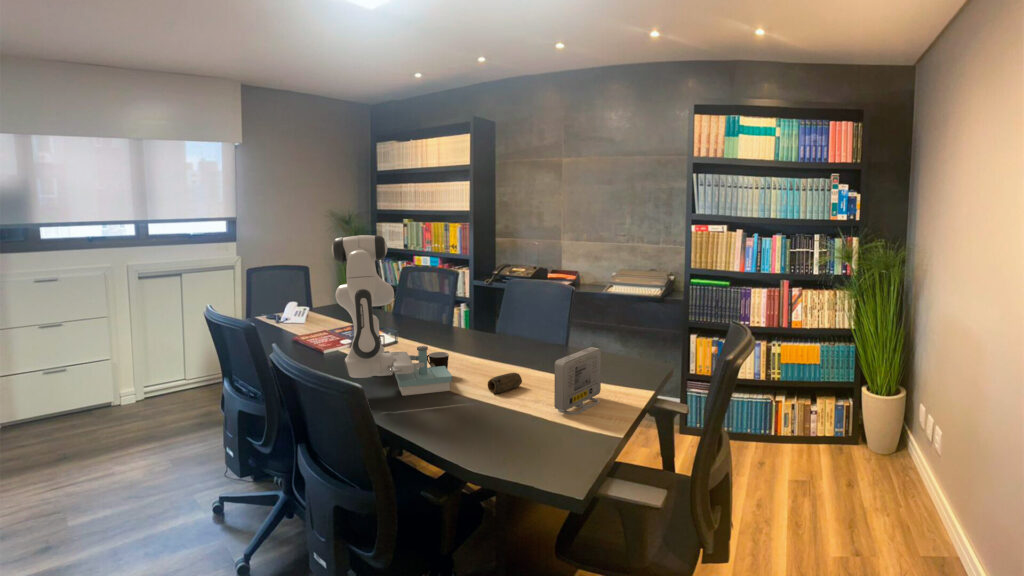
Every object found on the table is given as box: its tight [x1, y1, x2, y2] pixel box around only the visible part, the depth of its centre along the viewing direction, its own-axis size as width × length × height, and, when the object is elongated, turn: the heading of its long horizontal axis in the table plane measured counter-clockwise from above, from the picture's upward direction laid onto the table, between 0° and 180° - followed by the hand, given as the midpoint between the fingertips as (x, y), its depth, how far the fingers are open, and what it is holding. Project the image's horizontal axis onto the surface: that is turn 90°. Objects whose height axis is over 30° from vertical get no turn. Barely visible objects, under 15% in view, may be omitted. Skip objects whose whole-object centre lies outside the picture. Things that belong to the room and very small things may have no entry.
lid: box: [394, 345, 454, 388], centre depth 247 cm, size 15×21×13 cm
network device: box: [553, 346, 602, 416], centre depth 227 cm, size 26×9×20 cm, turn 141°
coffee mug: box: [427, 351, 450, 370], centre depth 265 cm, size 12×9×10 cm
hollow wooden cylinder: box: [487, 372, 523, 394], centre depth 247 cm, size 15×7×7 cm, turn 139°
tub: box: [397, 382, 451, 397], centre depth 248 cm, size 13×19×6 cm
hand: (422, 361), depth 246 cm, fingers open, 8 cm apart
